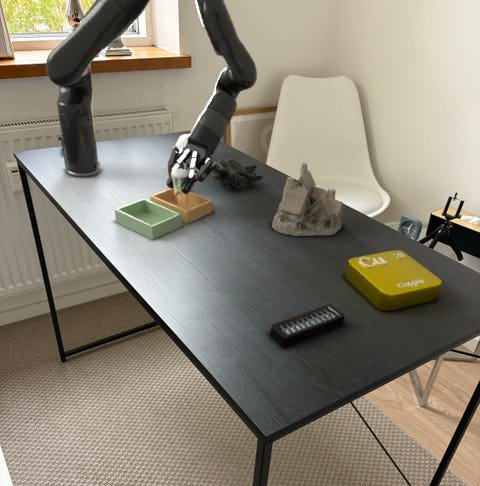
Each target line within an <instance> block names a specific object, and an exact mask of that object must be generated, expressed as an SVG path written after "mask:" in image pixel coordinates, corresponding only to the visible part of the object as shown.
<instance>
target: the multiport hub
mask: <svg viewBox="0 0 480 486" xmlns="http://www.w3.org/2000/svg"><path fill="white" fill-rule="evenodd" d="M345 317H346V314H344V313H343V312H342V311H341V310H339V309H338V308H337V307H335V305H334V304H331V303H329V304H326V305H324V306H320V307H317V308H315V309H311V310H309V311H306V312H303V313H301V314H298V315H295V316H292V317H289V318H287V319H285V320H281V321H278V322H275V323H272V324H271V325H270V333H269V335H270V337H271V338H272V339H273V340H274V341H276V343H278V344H279V346H280V347H281V348H283V349H284V348H288V347H290V346H293V345H295V344H299V343H301V342H304V341H306V340H308V339H311V338H313V337H316V336H319V335H321V334H324V333H327V332H329V331H332V330H335V329H337V328H339V327H342V326H343V325H344V321H345Z"/></svg>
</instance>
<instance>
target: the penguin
mask: <svg viewBox="0 0 480 486" xmlns="http://www.w3.org/2000/svg"><path fill="white" fill-rule="evenodd" d="M189 135H190V133H187V134H182V135H180V136H179V137H178V139H177V142H176V143H175V145H174V146H172V149H173V148H174V147H175V146H176V147H177V148H178V149H183V147H184V146H185V145H186V144H187V141H188V136H189Z"/></svg>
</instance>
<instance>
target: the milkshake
mask: <svg viewBox="0 0 480 486" xmlns="http://www.w3.org/2000/svg"><path fill="white" fill-rule="evenodd" d="M184 165H185V167H184V169H175V170H173V171H172V172H171V176H172V183H173V189H174V197H175V204H176V205H178V206H185V205H187V203H188V193H187V194H184V193H183V192H182V191H181V188H182V186H183V184H184V183H185V181H186V179H187V177H188V178H189V173H190V171H189V170H188V169H187V170H186V165H187V164H186V163H185V164H184Z"/></svg>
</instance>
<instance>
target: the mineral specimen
mask: <svg viewBox="0 0 480 486" xmlns="http://www.w3.org/2000/svg"><path fill="white" fill-rule="evenodd" d="M215 163H216V165H217V166H216V167H215V169H214V170H213V171H212V172H211V173H210V174H215V175H214V176H213V179H214V180H217V181H218V182H221V183H223V184H224V187H225V188H226V189H229V190H231V191H232V190H233V191H234V190H240V189H242V188H250V187H252V186H253V184H255V183H256V182H259V181H260V180H262V179H264V175H261V174H259V175H258V173H257V172H255V171H256V169H257V168H258V165H257V164H256V163H255V164H253V165H242V163H239V162H238V161H236V160H235V159H233V158H232V159H227V160H224V159H223V160H218V161H217V162H215Z"/></svg>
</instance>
